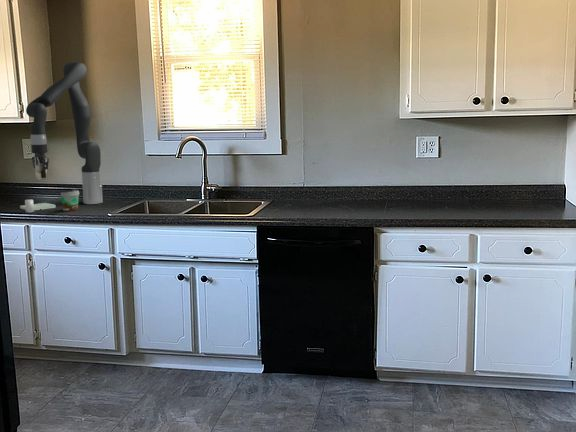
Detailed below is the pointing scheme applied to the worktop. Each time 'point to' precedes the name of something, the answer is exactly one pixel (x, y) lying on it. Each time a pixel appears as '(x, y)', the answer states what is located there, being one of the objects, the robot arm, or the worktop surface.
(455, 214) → the worktop surface
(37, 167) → the ash block
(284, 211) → the worktop surface
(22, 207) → the cutting board
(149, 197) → the worktop surface
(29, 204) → the ceramic jar
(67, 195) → the food container
